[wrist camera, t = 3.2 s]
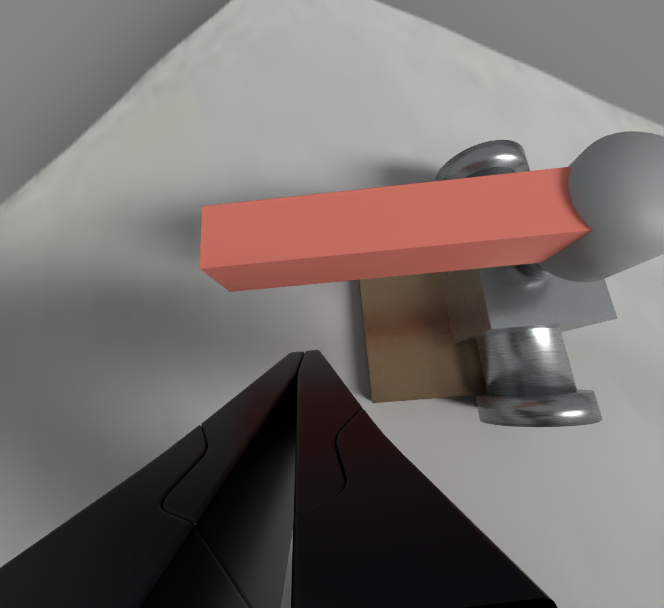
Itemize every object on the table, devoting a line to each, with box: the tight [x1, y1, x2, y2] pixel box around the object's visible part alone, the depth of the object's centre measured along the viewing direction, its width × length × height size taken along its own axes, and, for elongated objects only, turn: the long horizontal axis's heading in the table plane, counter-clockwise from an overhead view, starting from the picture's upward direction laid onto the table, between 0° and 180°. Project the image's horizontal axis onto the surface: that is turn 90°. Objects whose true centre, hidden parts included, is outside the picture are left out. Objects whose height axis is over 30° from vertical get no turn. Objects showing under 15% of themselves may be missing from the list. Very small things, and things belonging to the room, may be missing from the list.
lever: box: [200, 132, 664, 292], centre depth 9 cm, size 3×13×2 cm, turn 94°
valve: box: [359, 140, 617, 427], centre depth 13 cm, size 12×9×7 cm
